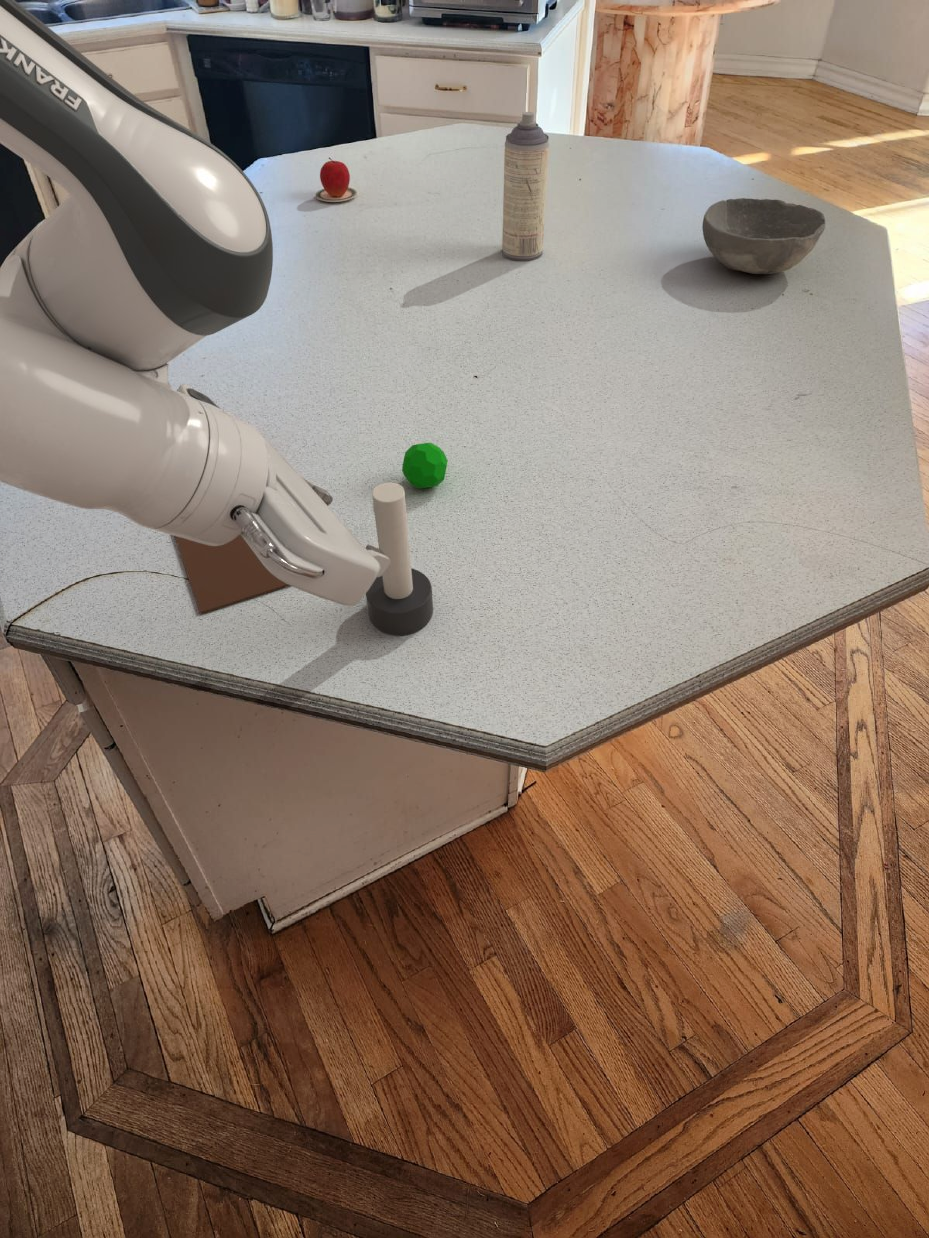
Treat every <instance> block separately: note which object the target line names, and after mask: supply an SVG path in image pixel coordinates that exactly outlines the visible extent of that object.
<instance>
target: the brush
mask: <svg viewBox="0 0 929 1238" xmlns="http://www.w3.org/2000/svg"><path fill="white" fill-rule="evenodd" d="M371 495H372V497H371V498H372V504H373V512H374V521H375V527H376V535H377V536H376V538H377V543H378V548H379V549H381V550H382V552H383V553H384V554H385V555H386V556H387V557H388V558H389V559H390V561H391V563H390V565H389V566H388V568H387V569H386V571H385V572H384V574H383V575H382V576H380V577H376V579H375V581H374V582H373V584H372V586H371V587H370V589H369V590H368V591H367V593H366V594H365V598H366V599H365V600H366V606H367V611H368V619H369V621H370V623H371V624H372V625H373V627H374V628H375V629H377V630H378V631H379V632H382V633H384V634H387V635H391V636H407V635H408V636H409V635H411V634H414V633H417V632H419V631H421V630H423V629H424V628H425V627H426V626H427V625H428V624H429V623H430V621H431V620H432V617H433V615H434V603H433V602H434V601H433V588H432V583H431V581H430V579H429V577H427V576H426V574H424V573H423V572H422V571H420V570H418V569H415V568H412V562H411V551H410V550H411V549H410V539H409V537H410V536H409V527H408V516H407V504H406V493H405V488H404V487H403V486H402V485H401V484H399V483H396V482H391V481H389V482H383V483H382V482H381V483H380V484H377V485H376V486H375V487H373V489H372V492H371Z"/></svg>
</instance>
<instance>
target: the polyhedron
mask: <svg viewBox="0 0 929 1238" xmlns="http://www.w3.org/2000/svg"><path fill="white" fill-rule="evenodd" d="M447 467H448V458H447V456H446V454H445V452H444V450H443V449H441V448H440V447H439V446H438V445H436V444H434V443H432V442H424V443H423V442H421V443H416V444H412V445H411V446H410V447H409V448H408V449H406V451H405V452H404V457H403V461H402V467H401V468H402V469H401V472H402V473H403V475H404V477H405V480H406V481H407V482H408V483H409V484H410V485H411V486H413V487H415V488H417V489H419V490H420V489H427V488H433V487H438V486H439V485H440V484H441V483H442V482H443V481H444V480H445V477H446V472H447Z"/></svg>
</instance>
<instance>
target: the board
mask: <svg viewBox="0 0 929 1238" xmlns="http://www.w3.org/2000/svg"><path fill="white" fill-rule="evenodd" d="M174 539H175V542H176V545H177V548H178V551H179V553H180V557H181V560H182V563H183V566H184V569H185V572H186V575H187V578H188V581H189V584H190V587H191V589H192V592H193V593H192V594H193V595H194V599H195V602H196V605H197V608H198V611H199V614H200V615H204V614H208V613H210V612H214V611H217V610H219V609H223V608H226V607H229V606H232V605H235V604H238V603H241V602H244V601H248V600H250V599H253V598H257V597H260V596H263V595H265V594H266V595H267V594H269V593H272V592H276V591H278V590H281V589H285V588H287V587H291V586H290V585H288V584H286V583H284V582H283V581H281V580H279V579H278V578H276V577H275V576H274V575H272V574H271V573H270V572H269V571H268V570H267V569H266V568H265V566H264V565H263V564H262V563H261V561H260V560H259V559H258V557H257V556H256V555H255V553H254V552H253V551H252V549H251V548H250V547H249V545H248V544H247V543H246V541H245V540H244V539H243V537H242V536H241V535H238V536H237V537H236V538H235V539H233V540H232V541H230V542H228V543H226V544H223V545H220V546H208V545H204V544H201V543H198V542H194V541H191V540H188V539H184V538H181V537H177V536H174Z"/></svg>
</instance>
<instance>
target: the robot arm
mask: <svg viewBox="0 0 929 1238" xmlns="http://www.w3.org/2000/svg"><path fill="white" fill-rule="evenodd" d="M0 145H2V146H4V147H5V148H6V149H8V150H10V151H11V152H12V153H14V154H15V155H17V156H18V157H20V158H21V159H22V160H24V161H25V162H27V163H28V164H30V165H31V166H32V167H34V168H36V169H37V170H39V171H41V173H43V174H44V175H46V176H47V177H48V178H50V179H51V180H53V181H54V182H56V183H57V184H58V185H60V187H62V188H63V189H64V190H65V191H66V192H67V193H68V194H69V195H67V197H66V198H65V199H64V200H63V201H62V202H61V203H60V204H59V205H58V206H57V207H56V208H55V209H54V210H53V211H52V212H51V213H50V214H49V216H48V217H46V218H44V219H43V220H41V221H40V222H38V223H37V224H36V226H34V228H33V229H32V230H31V231H30V232H28V234H27V235H26V236H25V237H24V238H23V239H22V240H21V241H20V242H19V243H18V244H17V246H15V247H14V249H13V250H12V251H10V253H9V254H8V255H7V256H6V258H5V259H4V261H3V263H2V264H1V266H0V483H3V484H6V485H9V486H11V487H14V488H17V489H19V490H22V491H25V492H28V493H31V494H34V495H37V496H39V497H43V498H46V499H49V500H52V501H55V502H59V503H62V504H65V505H69V506H72V507H75V508H79V509H84V510H105V511H110V512H114V513H118V514H119V515H122V516H124V518H127V519H128V520H130V521H131V522H133V523H135V524H137V525H139V526H141V527H144V528H146V529H150V530H154V531H156V532H160V533H164V534H167V535H171V536H173V537H175V536H177V537H181V538H184V539H188V540H191V541H194V542H198V543H201V544H204V545H208V546H220V545H223V544H226V543H228V542H230V541H232V540H233V539H235V538H236V537H237V536H238V535H241V536H242V537H243V539H244V540H245V541H246V543H247V544H248V545H249V547H250V548H251V549H252V551H253V552H254V553H255V555H256V556H257V557H258V559H259V560H260V561H261V563H262V564H263V565H264V566H265V568H266V569H267V570H268V571H269V572H270V573H271V574H272V575H274V576H275V577H276V578H278V579H279V580H281V581H283V582H284V583H286V584H288V585H290V586H289V587H292V588H295V589H297V590H300V591H302V592H305V593H308V594H310V595H313V596H316V597H319V598H321V599H324V600H327V601H330V602H333V603H336V604H339V605H342V606H346V607H352V606H355V605H357V604H358V603H359V602H360V601H361V600H362V599H363V598H364V597H365V596H366V593H367V591H368V590H369V589H370V587H371V586H372V584H373V582H374V581H375V579H376V577H380V576H382V575H383V574H384V572H385V571H386V569H387V568H388V566H389V565H390V563H391V561H390V559H389V558H388V557H387V556H386V555H385V554H384V553H383V552H382V550H381V549H379V547H375V546H373V545H370V544H366V545H365V546H364V544H362V542H361V541H360V540H359V539H358V538H357V536H355V534H353V532H352V531H351V529H349V528H348V527H347V525H346V524H345V523H344V522H343V521H342V520H341V519H340V518H339V517H338V516H337V514H336V513H335V512H334V511H333V510H332V509H331V508H330V505H331V504H332V503H333V498H334V497H333V496H332V495H331V493H329V491H328V490H327V489H326V488H325V487H324V486H322V485H319V484H317V483H315V482H312V481H311V480H309V479H308V478H307V477H305V476H304V475H302V474H301V473H299V471H297V470H296V469H295V468H294V467H293V465H291V463H290V462H289V461H288V460H287V459H286V458H285V457H284V456H283V454H282V453H281V452H280V451H279V450H278V449H277V448H276V447H275V446H274V445H273V443H272V442H271V441H270V440H269V439H268V438H267V437H266V436H265V435H263V433H261V432H260V431H259V430H258V428H257V427H255V426H254V425H253V424H251V423H249V422H246V421H244V420H242V419H240V418H238V417H237V416H235V415H234V414H232V413H230V412H228V411H227V410H224V409H222V408H221V407H220V406H218V405H217V404H216V403H215V402H214V401H213V400H212V399H211V398H210V397H208V395H206V394H205V393H204V392H202V391H201V390H198V389H196V388H194V387H192V386H190V385H188V384H185V383H183V384H182V383H181V384H180V385H179V386H178V388H177V389H175V388H174V387H173V386H172V385H171V384H170V381H169V378H168V376H169V362H171V361H173V359H176V357H178V356H179V355H181V354H182V353H184V352H185V351H187V350H188V349H190V348H191V347H193V346H194V345H196V344H197V343H199V342H200V341H201V340H203V339H204V338H206V337H207V336H211V335H214V334H216V333H218V332H221V331H222V330H224V329H226V328H228V327H230V326H232V325H234V324H236V323H238V322H240V321H243V320H244V319H246V318H248V317H251V316H252V315H254V314H256V313H257V312H258V311H259V310H260V309H261V308H262V306H263V305H264V303H265V301H266V299H267V296H268V293H269V290H270V285H271V281H272V273H273V265H274V264H273V263H274V246H273V244H274V243H273V234H272V228H271V222H270V217H269V214H268V211H267V208H266V206H265V203H264V201H263V199H262V197H261V194H260V193H259V192H258V190H257V189H256V187H255V185H254V183H252V181H251V180H250V178H249V177H248V176H247V174H246V173H245V172H244V171H243V170H242V169H241V167H240V166H239V165H237V163H236V162H235V161H233V159H231V157H229V156H228V155H227V154H226V153H225V152H223V151H222V150H221V149H219V148H218V147H216V146H215V145H214V144H213V143H211V142H210V141H208V140H207V139H205V138H203V136H201V135H199V134H197V133H196V132H194V131H192V130H191V129H189V128H187V127H186V126H184V125H182V124H180V123H179V122H177V121H175V120H173V119H172V118H170V117H169V116H167V115H166V114H163V113H162V112H160V111H159V110H157V109H155V108H154V107H152V106H151V105H149V104H147V103H146V102H145V101H144V100H142V99H140V98H139V97H137V96H136V94H135V95H134V94H133V93H132V92H131V91H129V90H128V89H127V88H125V87H124V86H123V85H122V84H120V83H119V82H118V81H116V79H114V78H112V77H111V76H110V75H109V74H107V72H105V71H103V69H101V68H100V67H98V65H96V64H95V63H94V62H92V61H91V60H90V59H88V58H87V56H85V55H83V54H82V53H81V52H80V51H78V50H77V49H76V48H74V46H72V45H71V44H70V43H68V42H67V41H66V40H65V39H64V38H62V37H61V36H60V35H58V33H56V32H55V31H54V30H53V29H51V28H50V27H49V26H47V25H46V24H45V23H44V22H43V21H41V20H40V19H39V18H37V17H36V16H35V15H34V14H32V13H31V12H30V11H28V10H27V9H26V8H25V7H23V5H21V4H20V3H18V2H17V1H16V0H0Z"/></svg>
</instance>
